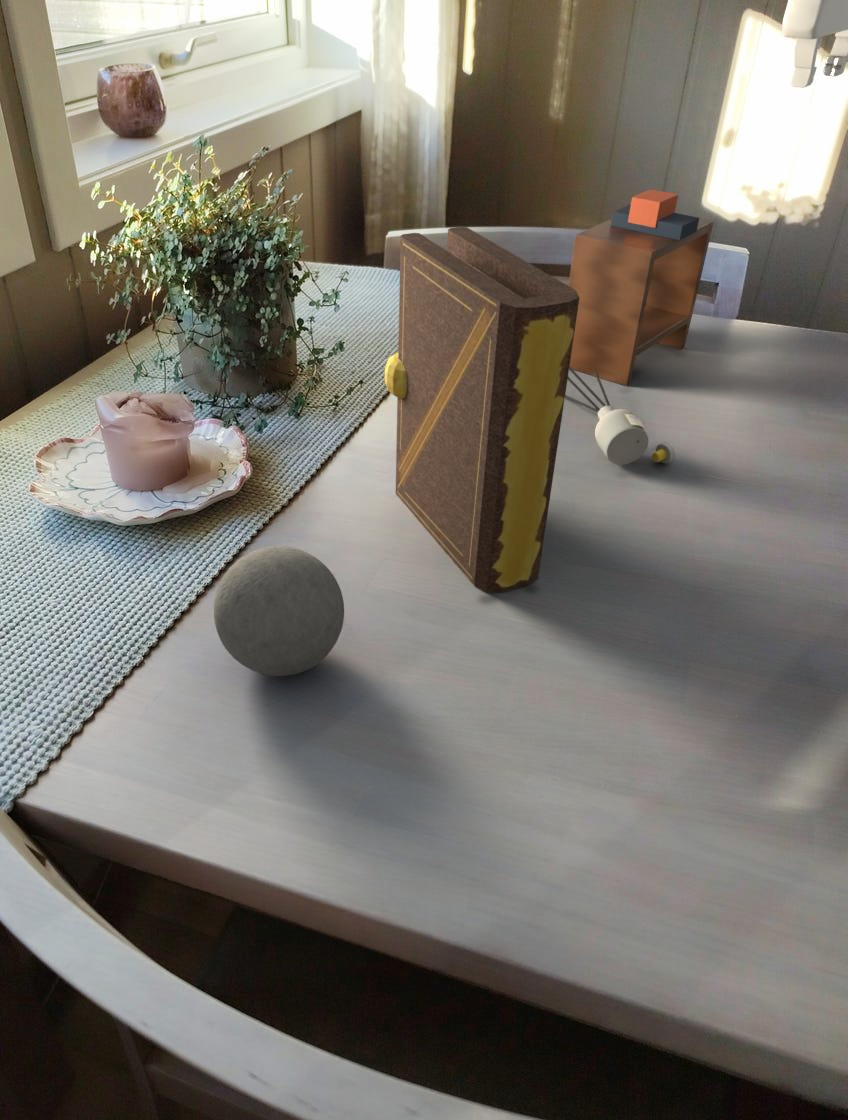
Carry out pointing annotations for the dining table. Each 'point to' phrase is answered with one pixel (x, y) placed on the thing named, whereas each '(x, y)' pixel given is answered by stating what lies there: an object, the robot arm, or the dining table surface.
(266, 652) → the decorative ball
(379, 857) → the dining table surface
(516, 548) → the book
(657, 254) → the rack
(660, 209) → the cube on dark base
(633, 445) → the reed diffuser
